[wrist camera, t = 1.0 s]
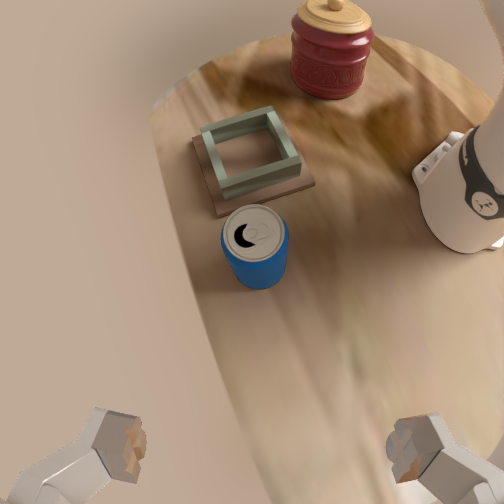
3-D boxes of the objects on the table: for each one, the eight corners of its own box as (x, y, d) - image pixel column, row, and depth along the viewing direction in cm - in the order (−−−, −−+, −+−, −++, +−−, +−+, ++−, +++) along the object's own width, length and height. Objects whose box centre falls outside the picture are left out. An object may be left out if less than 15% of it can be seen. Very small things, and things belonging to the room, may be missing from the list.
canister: (374, 93, 49) (398, 15, 32) (310, 108, 48) (319, 20, 31) (338, 51, 52) (348, -22, 36) (278, 63, 52) (276, -16, 35)
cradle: (193, 141, 47) (186, 123, 43) (277, 114, 48) (277, 95, 44) (218, 218, 43) (212, 203, 39) (314, 185, 44) (318, 168, 39)
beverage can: (227, 251, 42) (209, 213, 30) (274, 234, 42) (273, 191, 31) (243, 297, 40) (231, 276, 28) (292, 279, 40) (300, 251, 29)
